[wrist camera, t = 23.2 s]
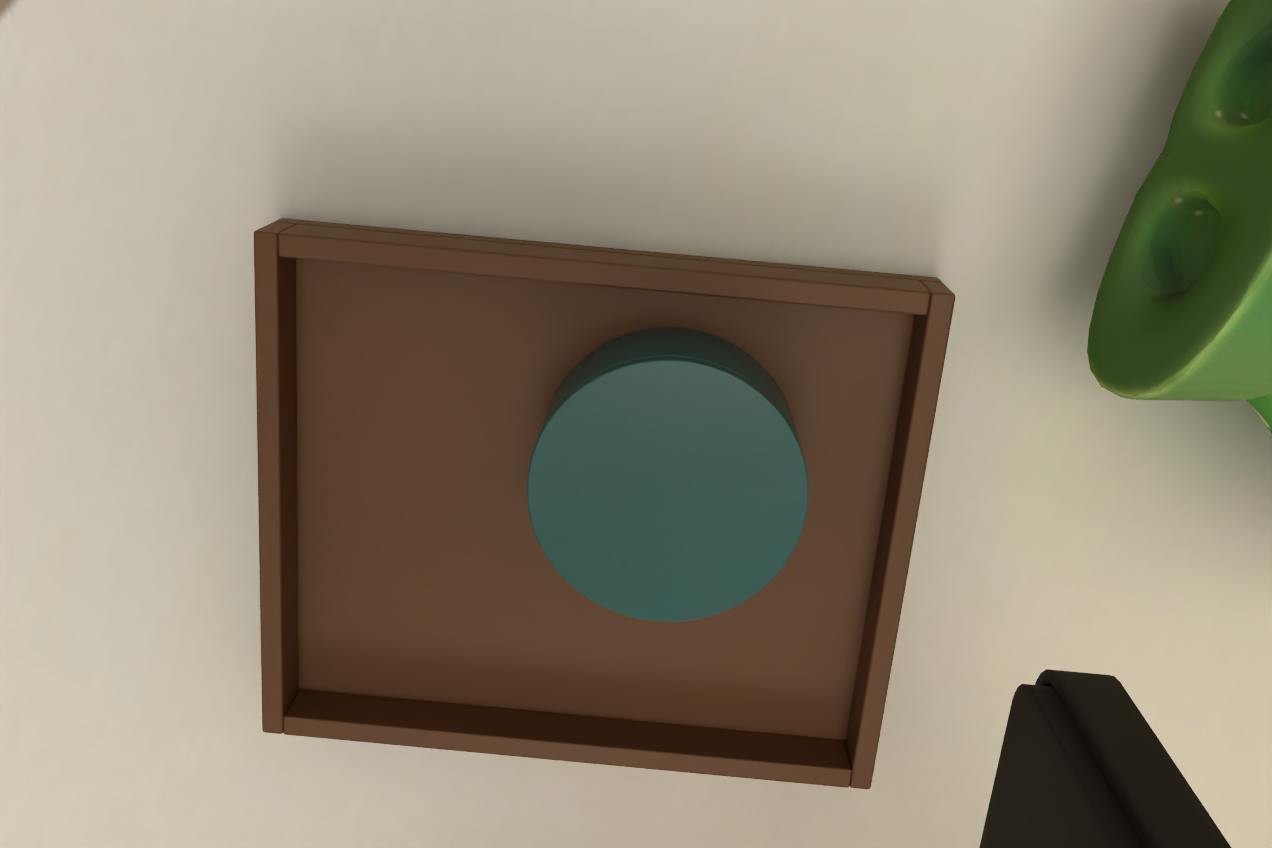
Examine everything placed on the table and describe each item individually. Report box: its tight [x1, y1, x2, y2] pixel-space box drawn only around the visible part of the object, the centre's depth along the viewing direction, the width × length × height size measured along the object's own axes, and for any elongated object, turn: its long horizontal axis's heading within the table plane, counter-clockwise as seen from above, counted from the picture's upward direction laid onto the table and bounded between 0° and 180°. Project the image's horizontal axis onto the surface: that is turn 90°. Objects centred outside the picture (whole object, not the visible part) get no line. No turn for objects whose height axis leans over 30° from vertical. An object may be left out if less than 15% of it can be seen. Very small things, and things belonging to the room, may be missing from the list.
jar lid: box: [527, 327, 809, 622], centre depth 30 cm, size 7×7×3 cm
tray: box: [254, 219, 955, 789], centre depth 32 cm, size 17×14×2 cm
